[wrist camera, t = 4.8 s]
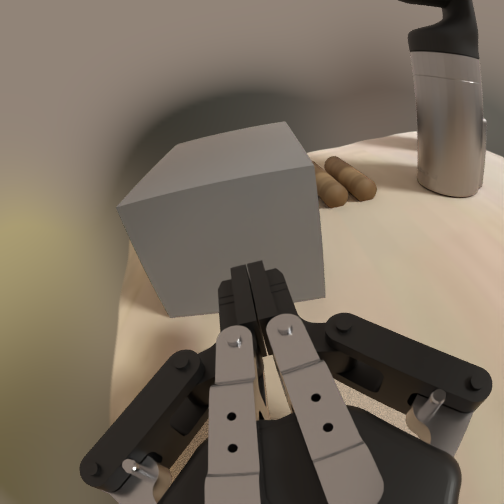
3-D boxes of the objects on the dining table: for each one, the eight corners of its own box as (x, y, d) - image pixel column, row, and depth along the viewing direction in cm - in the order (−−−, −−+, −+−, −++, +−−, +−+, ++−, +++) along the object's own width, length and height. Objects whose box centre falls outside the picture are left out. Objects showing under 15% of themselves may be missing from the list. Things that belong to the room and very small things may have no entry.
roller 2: (334, 178, 40) (345, 164, 39) (365, 206, 31) (380, 188, 30) (320, 167, 39) (332, 152, 38) (350, 193, 30) (366, 174, 29)
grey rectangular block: (298, 204, 34) (285, 121, 28) (325, 298, 20) (314, 165, 15) (200, 221, 35) (176, 144, 29) (170, 319, 22) (115, 207, 16)
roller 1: (312, 182, 40) (321, 166, 38) (339, 212, 31) (352, 191, 30) (296, 175, 39) (305, 157, 38) (320, 203, 30) (332, 181, 29)
